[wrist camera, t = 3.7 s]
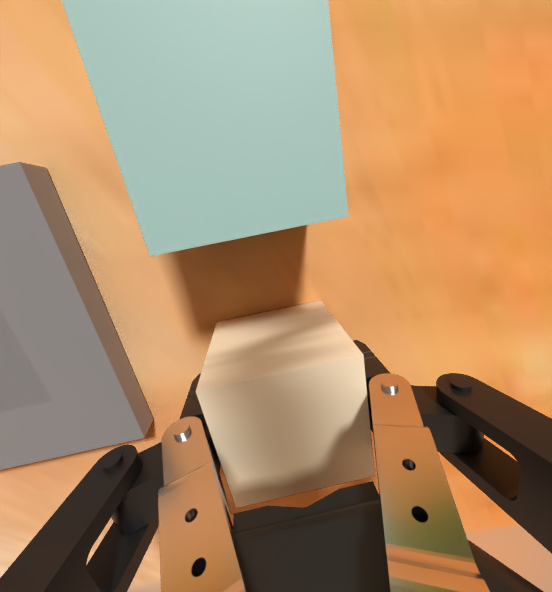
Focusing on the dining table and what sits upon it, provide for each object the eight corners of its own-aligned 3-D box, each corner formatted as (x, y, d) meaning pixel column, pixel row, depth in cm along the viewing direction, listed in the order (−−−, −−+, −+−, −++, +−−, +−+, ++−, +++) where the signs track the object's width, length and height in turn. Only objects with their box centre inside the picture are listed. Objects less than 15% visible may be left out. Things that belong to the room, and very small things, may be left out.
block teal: (287, 75, 10) (322, -55, 5) (307, 214, 11) (348, 216, 7) (153, 100, 10) (57, -10, 5) (192, 237, 11) (150, 256, 6)
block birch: (320, 300, 12) (363, 354, 8) (332, 386, 14) (374, 475, 9) (216, 322, 12) (195, 391, 8) (241, 406, 14) (236, 508, 9)
